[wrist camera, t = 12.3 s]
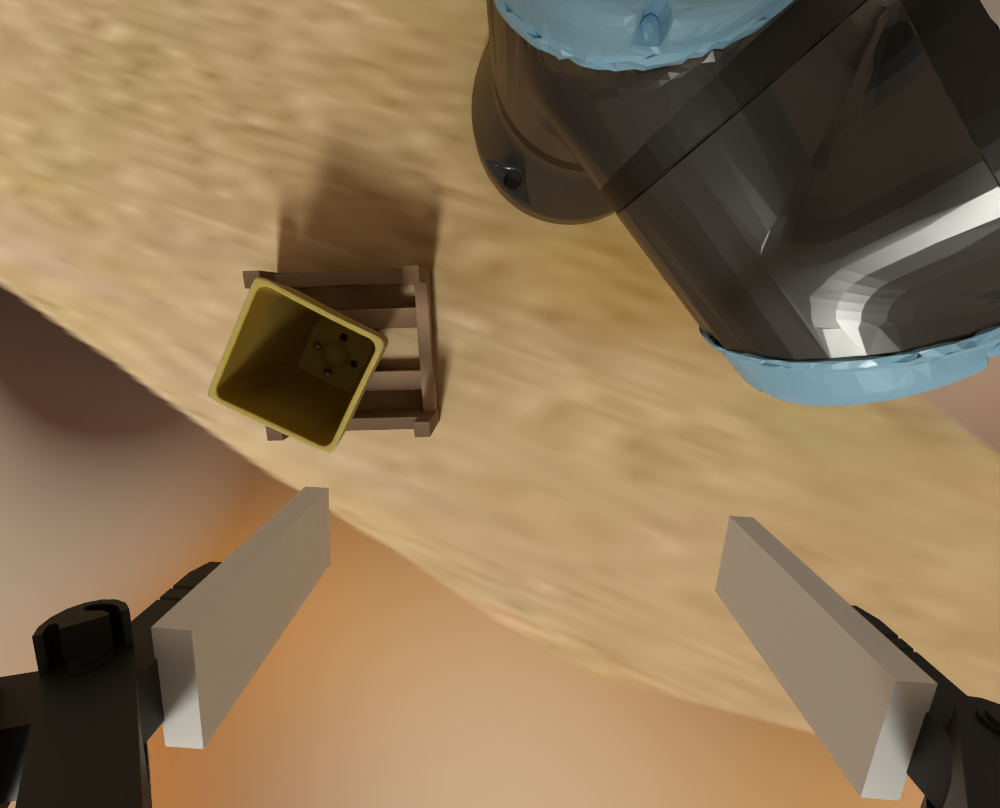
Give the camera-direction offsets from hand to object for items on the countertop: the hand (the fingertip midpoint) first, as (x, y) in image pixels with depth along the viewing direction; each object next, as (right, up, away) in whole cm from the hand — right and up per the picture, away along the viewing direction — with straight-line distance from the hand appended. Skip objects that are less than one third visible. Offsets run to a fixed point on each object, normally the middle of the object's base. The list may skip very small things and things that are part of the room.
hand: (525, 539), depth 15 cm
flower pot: (-15, +9, +23) cm, 29 cm away
